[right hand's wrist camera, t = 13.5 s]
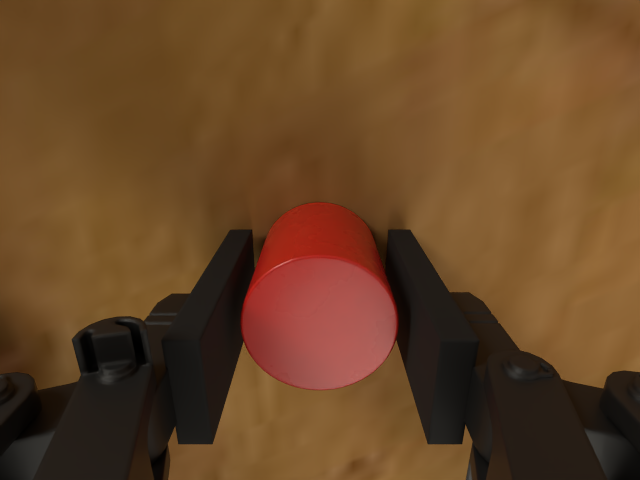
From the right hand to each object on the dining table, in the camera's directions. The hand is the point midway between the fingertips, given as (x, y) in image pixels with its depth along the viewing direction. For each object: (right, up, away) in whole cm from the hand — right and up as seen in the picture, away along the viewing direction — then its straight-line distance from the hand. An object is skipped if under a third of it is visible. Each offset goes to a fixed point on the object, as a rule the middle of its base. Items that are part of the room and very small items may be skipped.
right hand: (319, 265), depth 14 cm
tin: (0, 0, 0) cm, 0 cm away
